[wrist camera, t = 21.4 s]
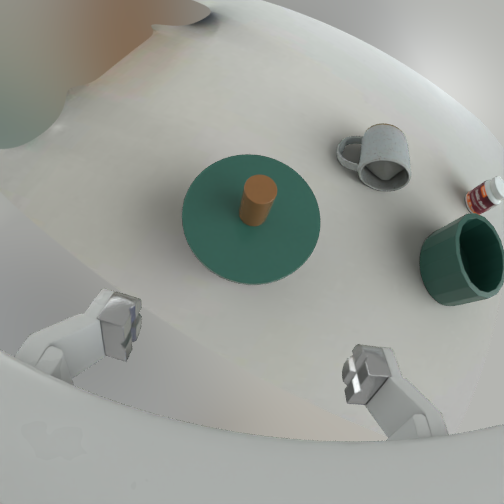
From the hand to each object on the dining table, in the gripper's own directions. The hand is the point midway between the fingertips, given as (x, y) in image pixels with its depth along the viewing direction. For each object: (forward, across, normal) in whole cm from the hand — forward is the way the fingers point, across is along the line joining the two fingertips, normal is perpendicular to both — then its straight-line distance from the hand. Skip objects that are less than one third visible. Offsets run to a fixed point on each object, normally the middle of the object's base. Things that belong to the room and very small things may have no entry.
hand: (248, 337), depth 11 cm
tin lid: (+19, 0, +3) cm, 19 cm away
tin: (+28, -32, +7) cm, 43 cm away
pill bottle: (+39, -40, -3) cm, 55 cm away
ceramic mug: (+38, -16, -2) cm, 41 cm away
